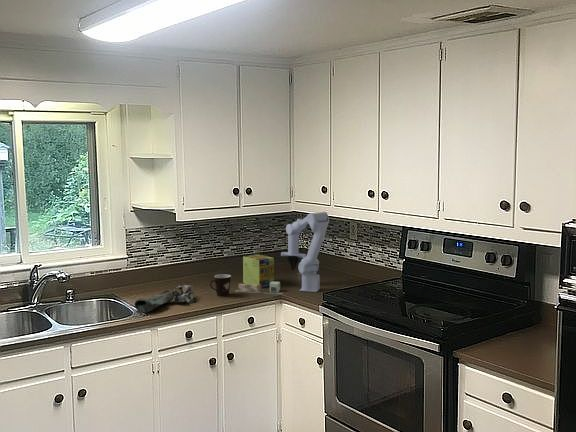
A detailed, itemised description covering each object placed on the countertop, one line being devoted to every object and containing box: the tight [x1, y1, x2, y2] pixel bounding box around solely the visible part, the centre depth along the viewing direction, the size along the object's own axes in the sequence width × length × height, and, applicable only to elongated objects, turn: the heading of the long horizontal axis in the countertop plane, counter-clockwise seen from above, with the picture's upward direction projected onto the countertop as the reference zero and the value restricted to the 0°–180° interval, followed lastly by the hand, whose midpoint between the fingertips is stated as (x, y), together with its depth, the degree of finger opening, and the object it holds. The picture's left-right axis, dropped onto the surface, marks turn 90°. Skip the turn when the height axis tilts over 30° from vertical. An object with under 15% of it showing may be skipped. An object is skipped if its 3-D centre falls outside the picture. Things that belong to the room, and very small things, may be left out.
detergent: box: [134, 289, 174, 314], centre depth 303 cm, size 13×7×25 cm
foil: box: [172, 283, 197, 305], centre depth 314 cm, size 12×11×15 cm
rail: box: [234, 289, 284, 295], centre depth 330 cm, size 26×2×1 cm, turn 75°
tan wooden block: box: [237, 283, 262, 294], centre depth 331 cm, size 12×3×4 cm, turn 75°
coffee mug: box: [209, 273, 232, 297], centre depth 324 cm, size 12×9×10 cm
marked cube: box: [269, 281, 281, 293], centre depth 333 cm, size 4×5×4 cm
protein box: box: [242, 254, 275, 289], centre depth 348 cm, size 10×15×16 cm
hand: (293, 269), depth 346 cm, fingers closed
